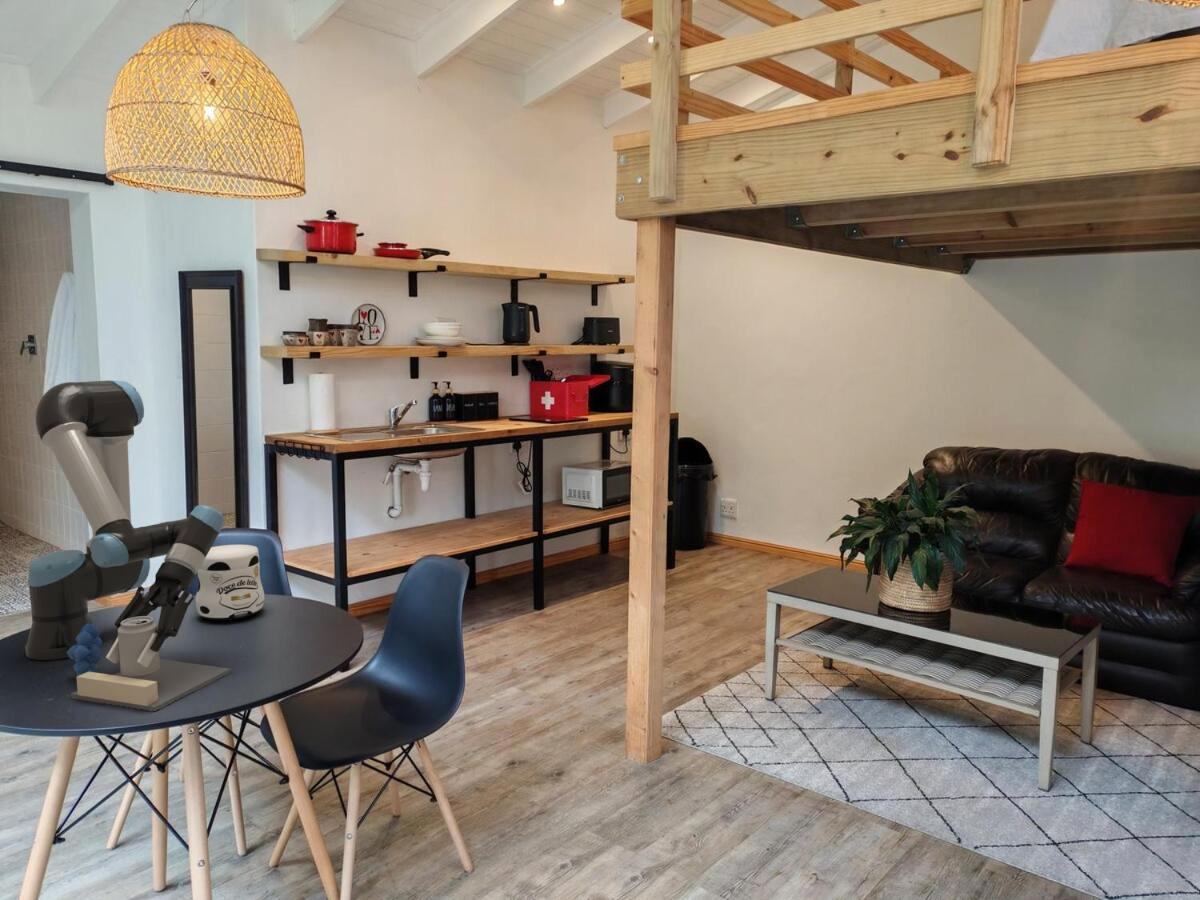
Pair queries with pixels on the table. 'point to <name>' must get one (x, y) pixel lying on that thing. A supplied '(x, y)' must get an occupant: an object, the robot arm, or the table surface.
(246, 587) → the milk container
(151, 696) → the stop plate
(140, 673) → the can
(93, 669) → the grapes
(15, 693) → the table surface
